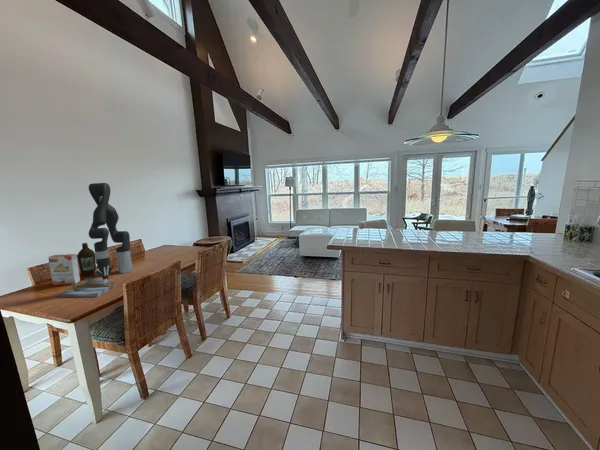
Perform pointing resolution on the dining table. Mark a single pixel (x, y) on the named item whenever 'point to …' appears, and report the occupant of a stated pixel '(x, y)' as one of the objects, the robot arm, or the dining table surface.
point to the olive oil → (86, 261)
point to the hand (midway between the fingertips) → (105, 280)
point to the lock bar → (96, 281)
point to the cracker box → (64, 269)
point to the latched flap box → (86, 290)
